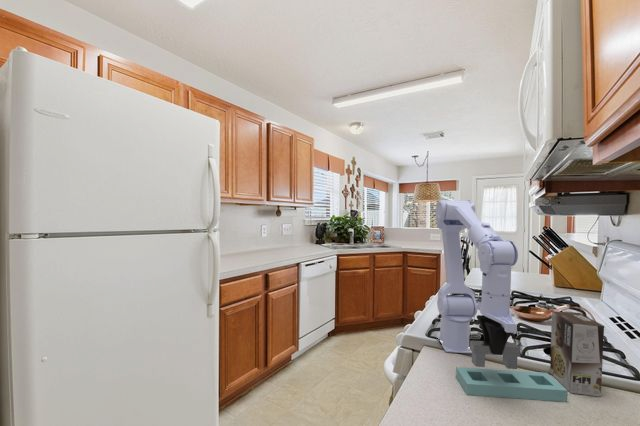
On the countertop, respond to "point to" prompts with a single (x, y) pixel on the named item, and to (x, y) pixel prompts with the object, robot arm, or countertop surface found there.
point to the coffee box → (577, 352)
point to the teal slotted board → (510, 384)
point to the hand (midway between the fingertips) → (493, 350)
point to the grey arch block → (484, 348)
